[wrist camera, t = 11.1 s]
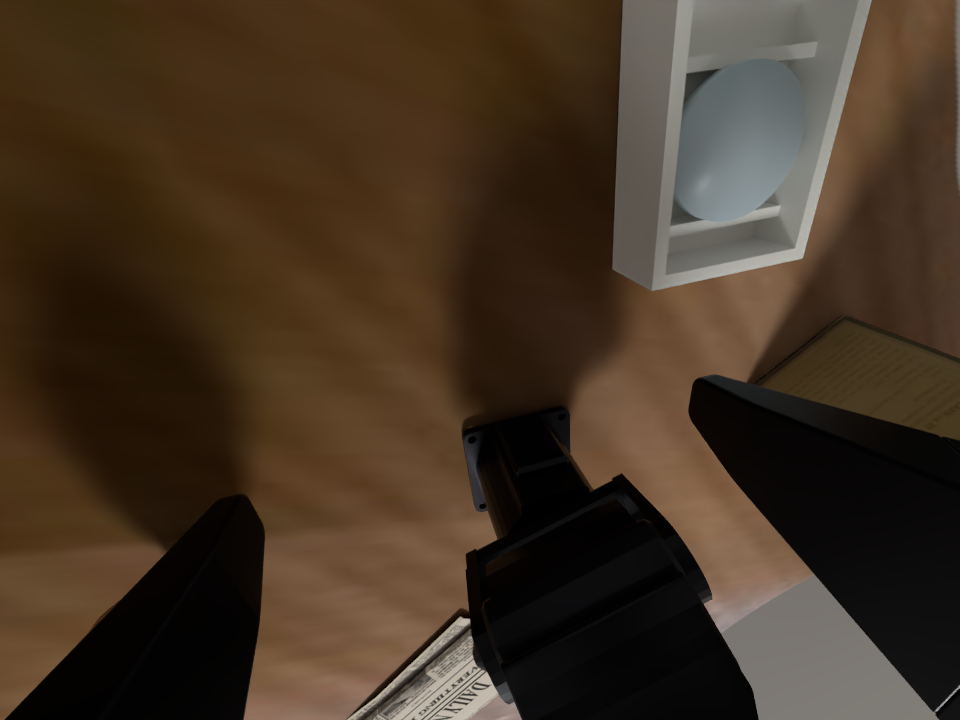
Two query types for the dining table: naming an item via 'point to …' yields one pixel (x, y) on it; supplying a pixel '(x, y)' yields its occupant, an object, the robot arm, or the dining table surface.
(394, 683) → the newspaper
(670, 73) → the rack
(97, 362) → the dining table surface
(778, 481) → the robot arm
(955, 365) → the food packaging
